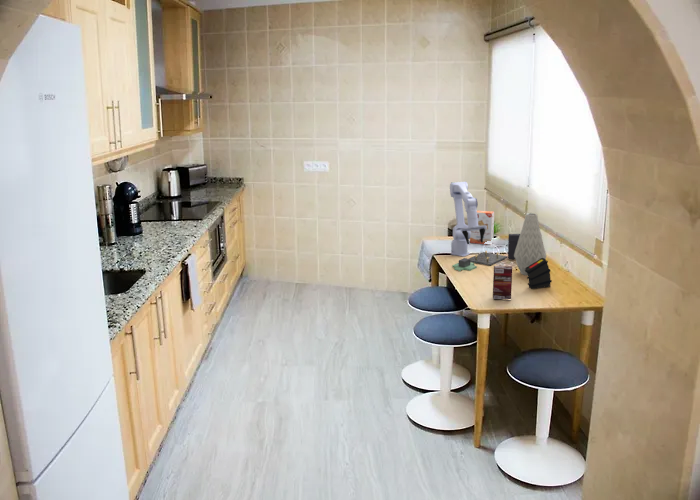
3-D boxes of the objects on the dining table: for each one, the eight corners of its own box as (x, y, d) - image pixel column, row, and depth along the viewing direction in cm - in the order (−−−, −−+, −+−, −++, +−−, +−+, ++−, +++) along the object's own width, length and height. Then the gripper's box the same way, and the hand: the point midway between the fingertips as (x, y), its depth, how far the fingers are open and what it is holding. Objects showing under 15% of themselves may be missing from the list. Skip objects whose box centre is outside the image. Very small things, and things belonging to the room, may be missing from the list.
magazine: (556, 283, 311) (546, 258, 306) (535, 296, 310) (524, 272, 305) (552, 281, 315) (542, 257, 310) (531, 294, 314) (520, 270, 308)
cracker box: (469, 243, 399) (470, 211, 394) (472, 241, 404) (472, 209, 399) (491, 245, 393) (491, 213, 387) (493, 242, 398) (494, 211, 392)
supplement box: (493, 300, 296) (493, 268, 292) (492, 296, 301) (493, 265, 297) (511, 300, 295) (512, 268, 290) (510, 297, 299) (511, 265, 295)
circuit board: (448, 269, 347) (448, 261, 346) (462, 262, 358) (462, 255, 356) (466, 272, 339) (466, 264, 338) (480, 266, 350) (480, 258, 349)
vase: (543, 279, 323) (546, 218, 315) (510, 276, 330) (512, 216, 321) (547, 270, 338) (550, 211, 329) (516, 267, 345) (518, 210, 336)
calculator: (526, 258, 362) (527, 233, 358) (528, 260, 358) (529, 235, 354) (507, 258, 363) (508, 233, 359) (508, 260, 359) (509, 235, 355)
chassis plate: (465, 261, 360) (465, 255, 359) (483, 253, 374) (483, 248, 373) (490, 265, 350) (490, 260, 349) (507, 257, 364) (507, 252, 363)
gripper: (458, 220, 347) (460, 244, 345) (484, 216, 341) (486, 240, 340) (461, 221, 353) (463, 245, 352) (486, 218, 348) (488, 242, 346)
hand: (474, 243), depth 346 cm, fingers open, 7 cm apart
